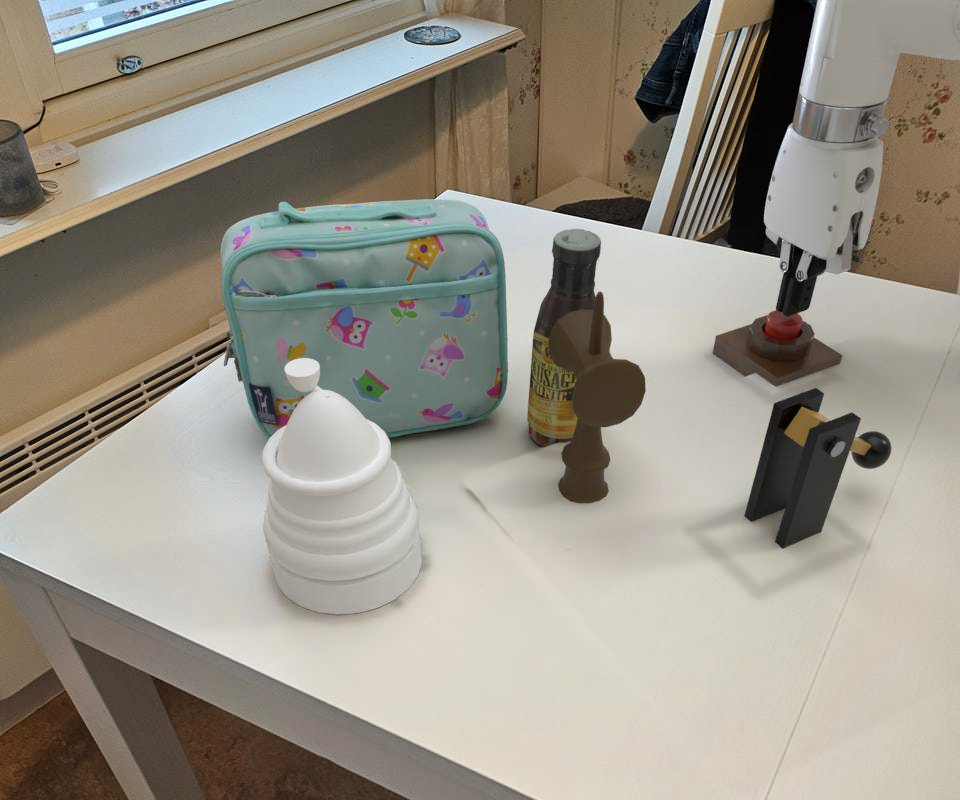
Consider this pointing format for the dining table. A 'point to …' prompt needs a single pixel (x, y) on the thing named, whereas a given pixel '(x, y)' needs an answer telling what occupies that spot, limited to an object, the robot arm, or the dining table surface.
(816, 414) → the switch lever
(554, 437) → the sauce bottle
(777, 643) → the dining table surface
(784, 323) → the light button
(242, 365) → the lunch box
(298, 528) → the honey pot
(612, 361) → the kendama
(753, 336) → the button block
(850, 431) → the switch bracket
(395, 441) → the dining table surface
